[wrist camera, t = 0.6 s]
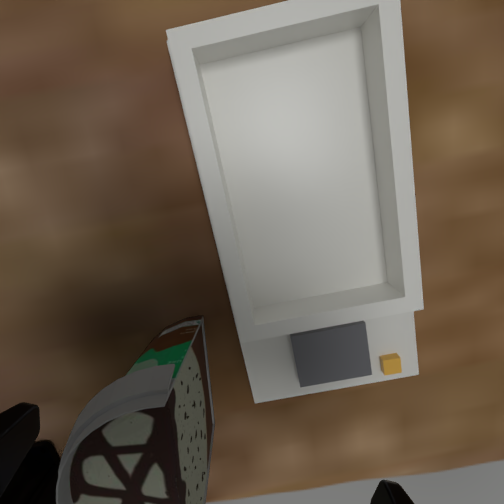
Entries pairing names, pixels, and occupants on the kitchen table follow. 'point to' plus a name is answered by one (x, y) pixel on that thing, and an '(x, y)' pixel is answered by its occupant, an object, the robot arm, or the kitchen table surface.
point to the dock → (308, 187)
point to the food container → (146, 429)
